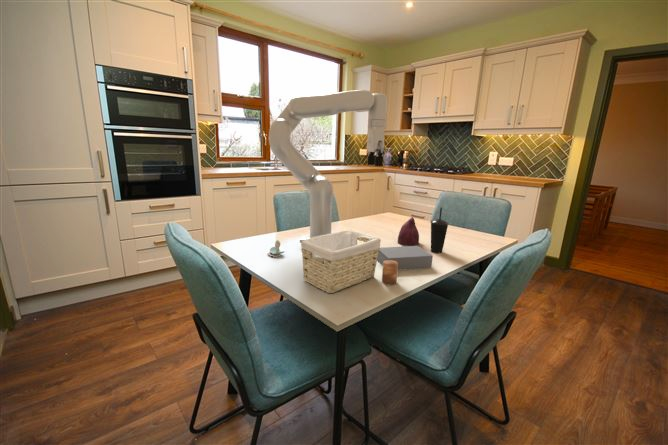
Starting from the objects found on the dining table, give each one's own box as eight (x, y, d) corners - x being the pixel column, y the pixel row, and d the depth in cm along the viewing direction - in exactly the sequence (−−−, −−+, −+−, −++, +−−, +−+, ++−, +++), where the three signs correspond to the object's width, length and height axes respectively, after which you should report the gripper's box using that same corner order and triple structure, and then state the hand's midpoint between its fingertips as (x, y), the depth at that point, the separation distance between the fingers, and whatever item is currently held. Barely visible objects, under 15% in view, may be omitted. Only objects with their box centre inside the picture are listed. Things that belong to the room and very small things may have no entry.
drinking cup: (445, 250, 139) (450, 206, 135) (445, 255, 132) (450, 210, 128) (427, 247, 142) (432, 205, 137) (427, 253, 135) (431, 208, 130)
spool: (385, 285, 103) (386, 266, 101) (379, 279, 107) (380, 260, 106) (399, 284, 104) (400, 265, 102) (393, 278, 108) (394, 259, 107)
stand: (387, 270, 115) (388, 258, 113) (376, 259, 126) (377, 247, 125) (431, 267, 118) (432, 255, 117) (416, 257, 130) (417, 245, 129)
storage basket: (348, 264, 121) (349, 227, 117) (380, 277, 109) (383, 237, 105) (298, 281, 105) (298, 239, 101) (330, 298, 93) (331, 252, 90)
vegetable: (419, 252, 145) (428, 225, 138) (397, 249, 145) (405, 221, 138) (415, 240, 154) (424, 214, 147) (395, 237, 154) (402, 211, 147)
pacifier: (273, 259, 124) (286, 256, 128) (272, 244, 122) (285, 241, 126) (264, 254, 129) (277, 251, 133) (263, 240, 128) (276, 237, 131)
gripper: (362, 125, 139) (360, 164, 143) (375, 123, 123) (373, 166, 127) (378, 126, 141) (376, 164, 145) (393, 123, 124) (390, 166, 128)
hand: (374, 165), depth 136 cm, fingers open, 9 cm apart
